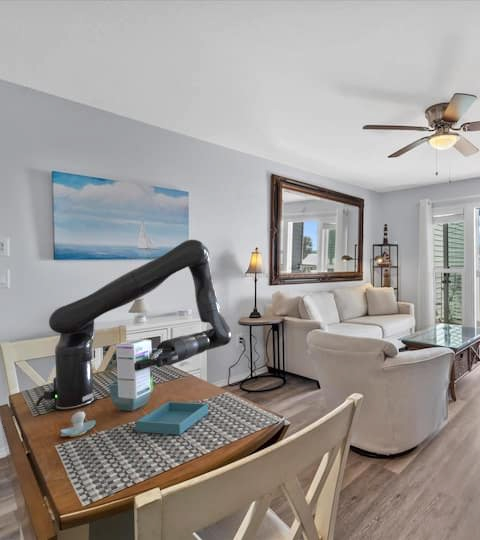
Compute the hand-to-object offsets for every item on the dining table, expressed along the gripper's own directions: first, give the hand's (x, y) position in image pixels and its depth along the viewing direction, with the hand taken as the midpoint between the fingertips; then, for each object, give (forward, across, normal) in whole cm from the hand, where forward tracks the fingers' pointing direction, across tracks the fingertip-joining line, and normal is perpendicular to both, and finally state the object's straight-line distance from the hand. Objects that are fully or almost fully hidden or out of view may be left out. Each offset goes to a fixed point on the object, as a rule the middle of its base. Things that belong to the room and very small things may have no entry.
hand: (126, 365), depth 88 cm
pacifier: (+2, -16, +20) cm, 26 cm away
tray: (-11, +4, +20) cm, 23 cm away
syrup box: (-2, 0, +9) cm, 9 cm away
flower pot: (-15, -17, +20) cm, 30 cm away
